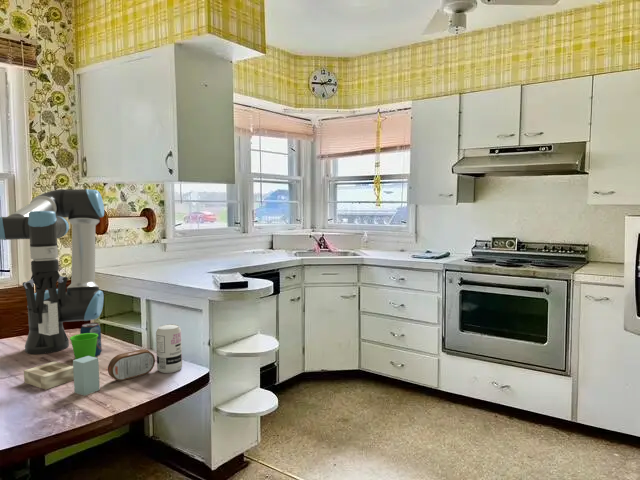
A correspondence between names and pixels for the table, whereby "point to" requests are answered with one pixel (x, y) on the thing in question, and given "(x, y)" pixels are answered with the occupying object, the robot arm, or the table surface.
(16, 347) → the table surface
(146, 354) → the tin
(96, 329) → the soda can
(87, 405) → the table surface
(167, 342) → the supplement can
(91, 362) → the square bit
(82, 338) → the cup
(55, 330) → the grey rectangular block
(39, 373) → the slotted holder
